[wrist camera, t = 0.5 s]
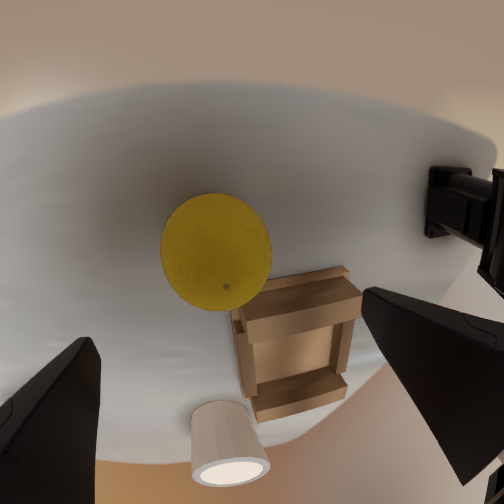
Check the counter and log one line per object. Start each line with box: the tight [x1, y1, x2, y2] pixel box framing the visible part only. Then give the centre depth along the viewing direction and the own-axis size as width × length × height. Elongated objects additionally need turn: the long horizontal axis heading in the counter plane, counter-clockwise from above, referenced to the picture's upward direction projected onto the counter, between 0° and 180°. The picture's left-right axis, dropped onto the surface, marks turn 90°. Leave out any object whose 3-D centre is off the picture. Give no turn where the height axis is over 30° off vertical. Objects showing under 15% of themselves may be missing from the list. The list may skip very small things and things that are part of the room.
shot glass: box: [191, 400, 270, 487], centre depth 22 cm, size 7×7×7 cm
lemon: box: [160, 193, 272, 311], centre depth 15 cm, size 6×6×8 cm
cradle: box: [230, 266, 363, 423], centre depth 21 cm, size 9×12×4 cm
